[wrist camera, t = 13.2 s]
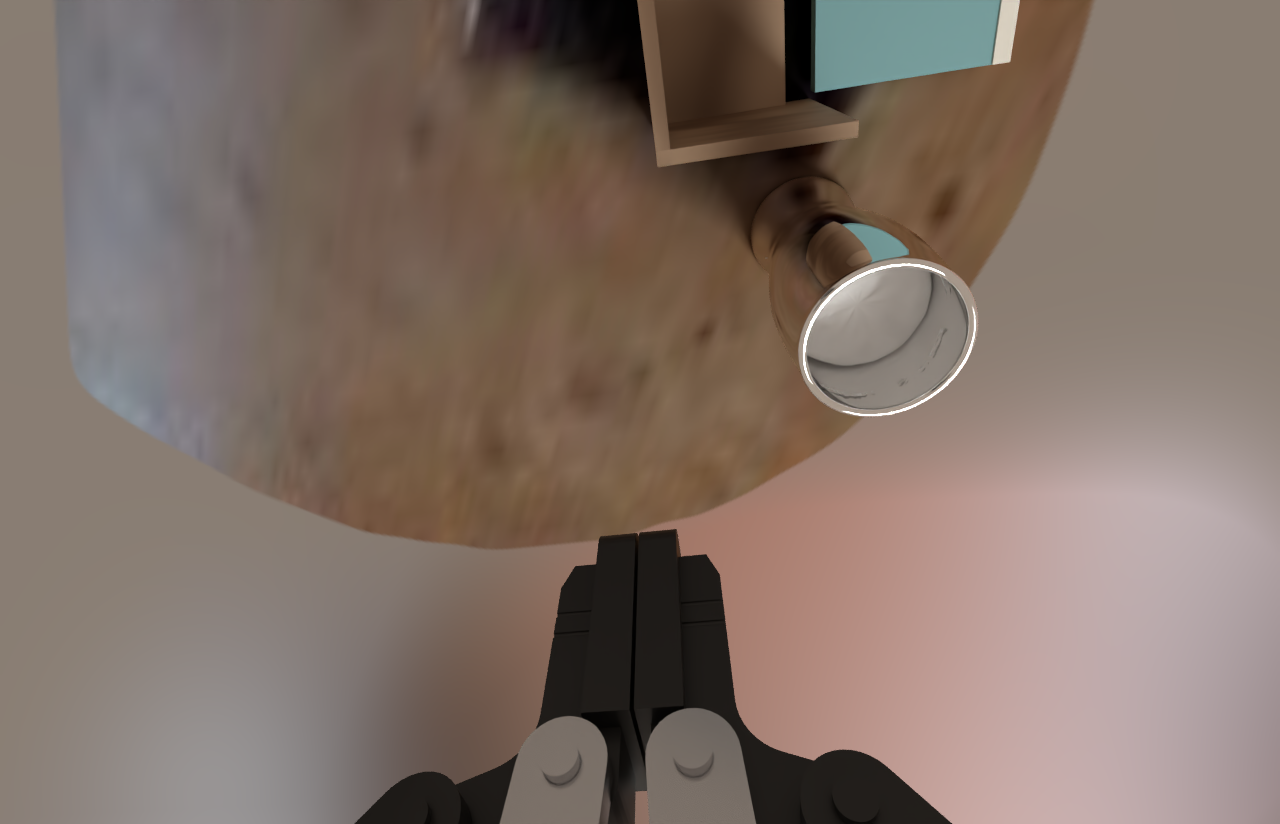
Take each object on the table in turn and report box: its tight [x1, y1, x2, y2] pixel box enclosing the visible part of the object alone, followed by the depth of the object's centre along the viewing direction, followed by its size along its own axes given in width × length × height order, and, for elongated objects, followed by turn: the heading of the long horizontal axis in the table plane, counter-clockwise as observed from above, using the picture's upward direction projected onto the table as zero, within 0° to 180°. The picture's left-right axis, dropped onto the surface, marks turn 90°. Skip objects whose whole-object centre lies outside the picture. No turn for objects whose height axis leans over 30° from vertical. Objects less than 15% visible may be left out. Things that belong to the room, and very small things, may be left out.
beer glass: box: [751, 177, 978, 417], centre depth 29 cm, size 7×7×15 cm
